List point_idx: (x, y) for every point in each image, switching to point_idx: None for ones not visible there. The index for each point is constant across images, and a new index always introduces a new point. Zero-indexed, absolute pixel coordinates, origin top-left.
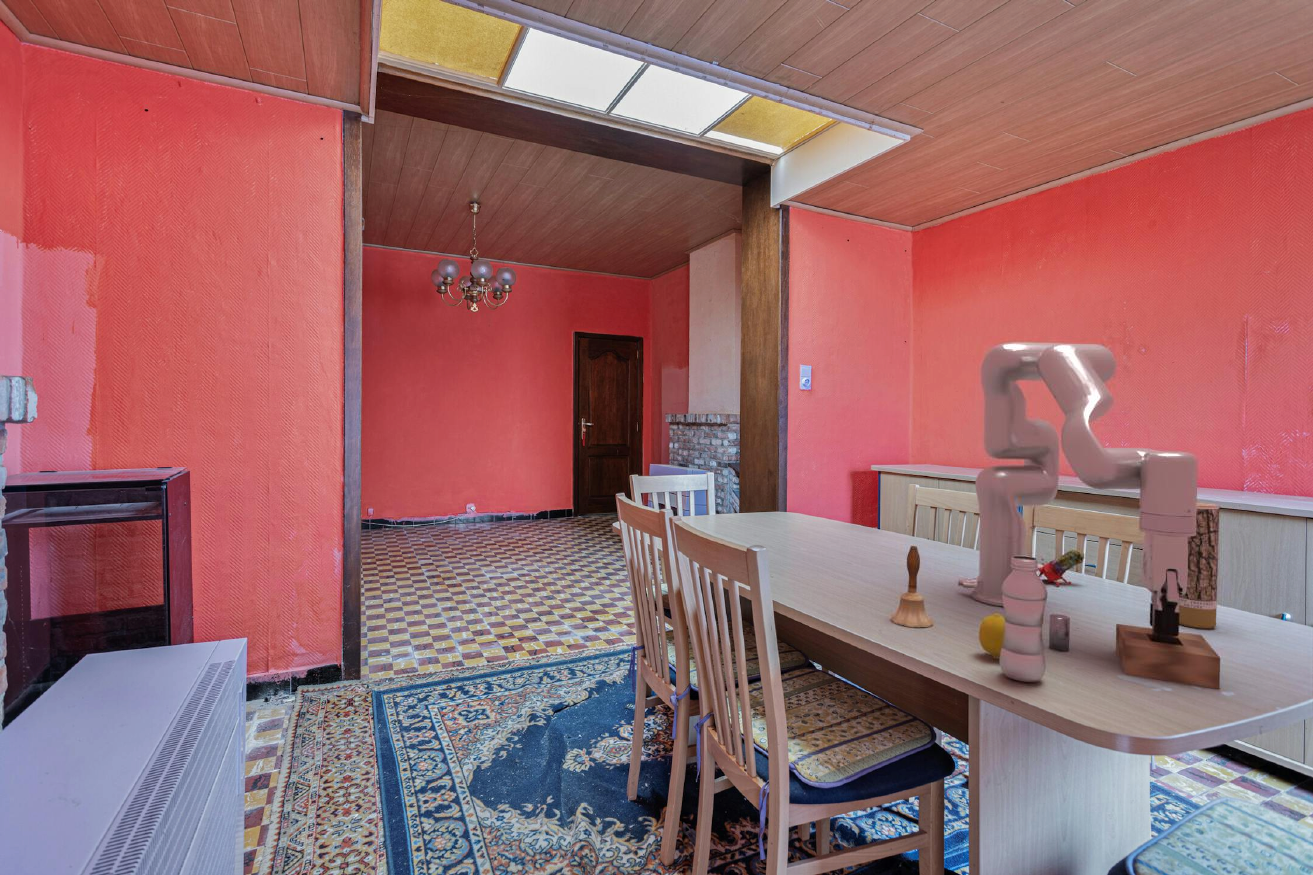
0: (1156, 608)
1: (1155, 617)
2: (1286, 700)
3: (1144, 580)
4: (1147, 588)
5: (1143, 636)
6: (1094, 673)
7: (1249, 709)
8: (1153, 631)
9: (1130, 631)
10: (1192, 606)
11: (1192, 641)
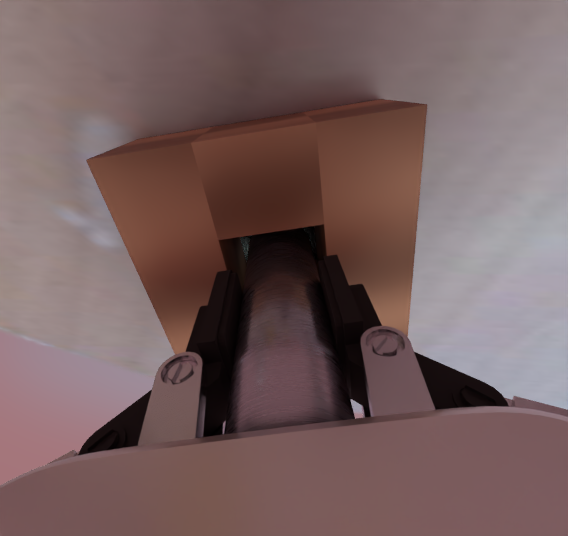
0: (246, 345)
1: (207, 314)
2: None
3: (265, 500)
4: (83, 466)
5: (268, 217)
6: (43, 36)
7: (121, 355)
8: (265, 261)
9: (318, 169)
10: None
11: None
